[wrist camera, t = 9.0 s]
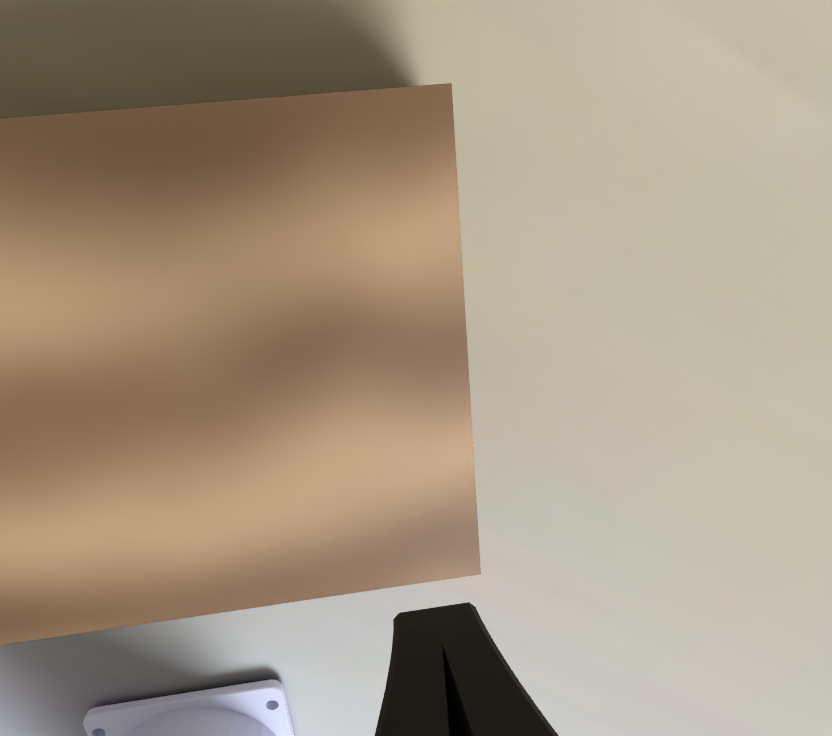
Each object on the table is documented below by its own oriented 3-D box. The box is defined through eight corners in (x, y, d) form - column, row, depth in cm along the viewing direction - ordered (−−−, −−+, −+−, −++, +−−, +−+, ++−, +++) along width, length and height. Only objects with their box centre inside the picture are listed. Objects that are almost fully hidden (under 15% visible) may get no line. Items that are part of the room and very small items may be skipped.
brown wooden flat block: (458, 504, 20) (480, 573, 17) (31, 563, 19) (-49, 652, 15) (429, 111, 16) (451, 83, 12) (-127, 156, 15) (-294, 141, 11)
